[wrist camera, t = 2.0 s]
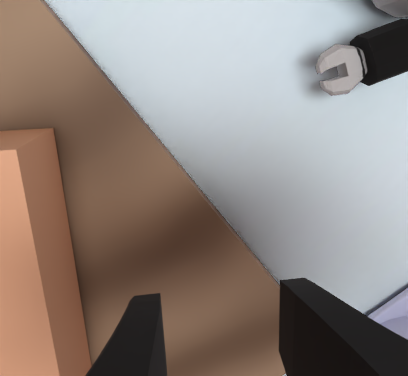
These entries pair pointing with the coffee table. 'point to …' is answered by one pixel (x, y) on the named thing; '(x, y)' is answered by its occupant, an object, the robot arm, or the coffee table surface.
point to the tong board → (135, 210)
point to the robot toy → (369, 53)
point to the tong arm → (37, 263)
